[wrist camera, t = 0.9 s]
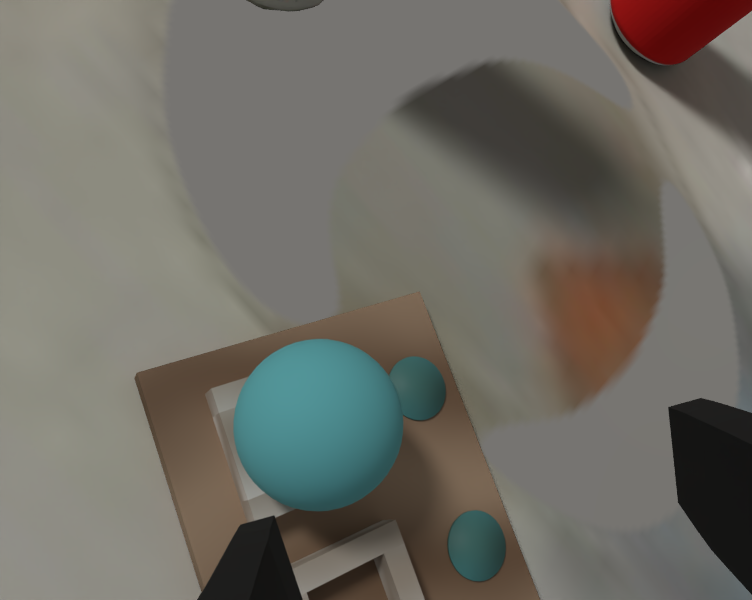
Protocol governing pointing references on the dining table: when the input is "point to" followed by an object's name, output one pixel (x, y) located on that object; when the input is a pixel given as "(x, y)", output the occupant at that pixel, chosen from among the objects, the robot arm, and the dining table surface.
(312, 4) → the spray can
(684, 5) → the beverage can
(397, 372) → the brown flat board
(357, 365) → the teal ball
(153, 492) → the dining table surface
